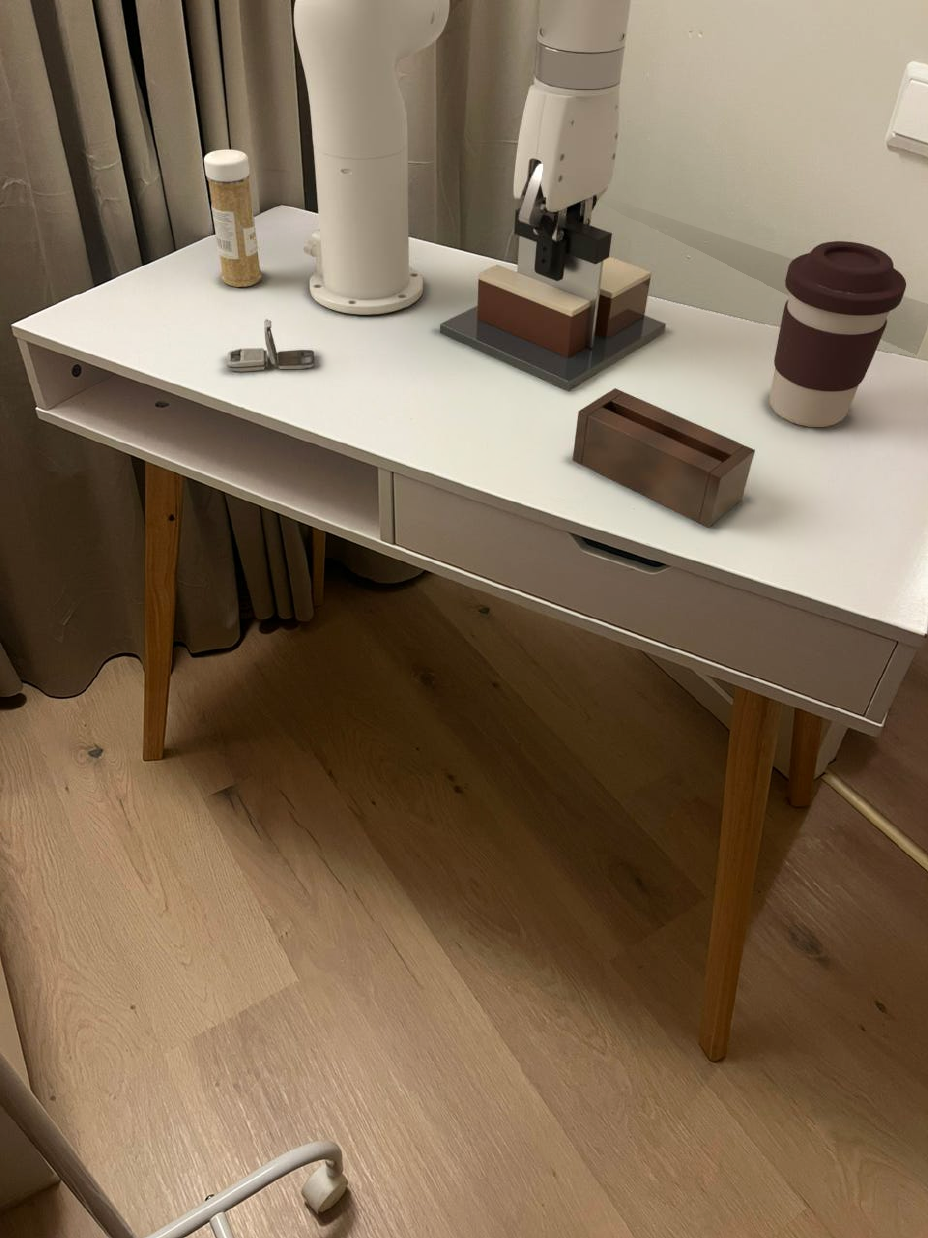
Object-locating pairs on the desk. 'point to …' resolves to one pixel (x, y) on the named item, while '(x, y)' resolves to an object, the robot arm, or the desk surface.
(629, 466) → the block
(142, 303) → the desk surface
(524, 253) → the bench scraper
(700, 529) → the desk surface
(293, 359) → the strap clip
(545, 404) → the desk surface
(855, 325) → the coffee cup
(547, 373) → the cake board
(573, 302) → the cake slice
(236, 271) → the sprinkles bottle
